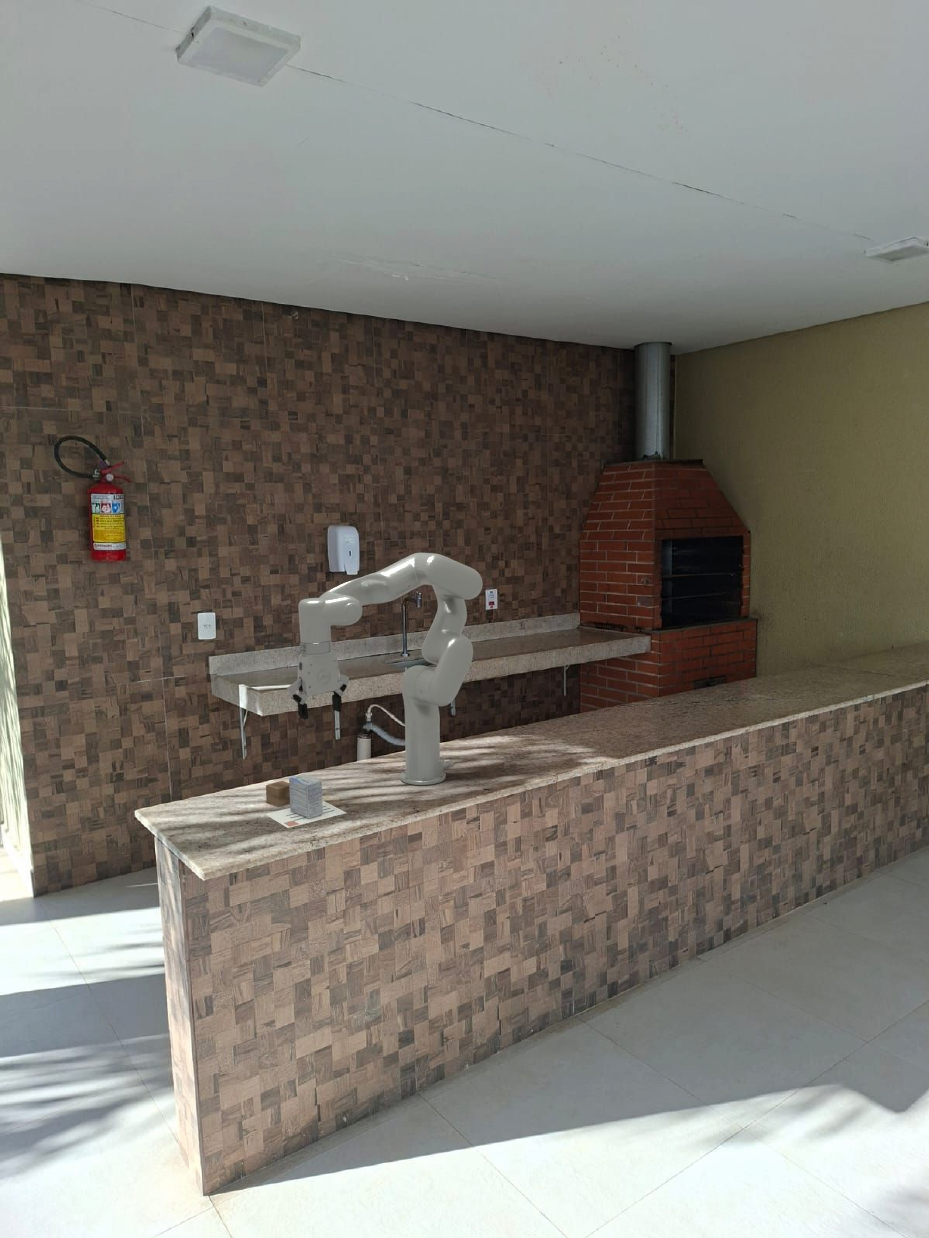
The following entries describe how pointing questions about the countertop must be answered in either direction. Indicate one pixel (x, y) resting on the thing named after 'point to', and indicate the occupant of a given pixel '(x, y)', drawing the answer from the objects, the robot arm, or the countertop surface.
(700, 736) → the countertop surface
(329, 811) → the letter
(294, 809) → the medicine box
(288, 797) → the walnut block
